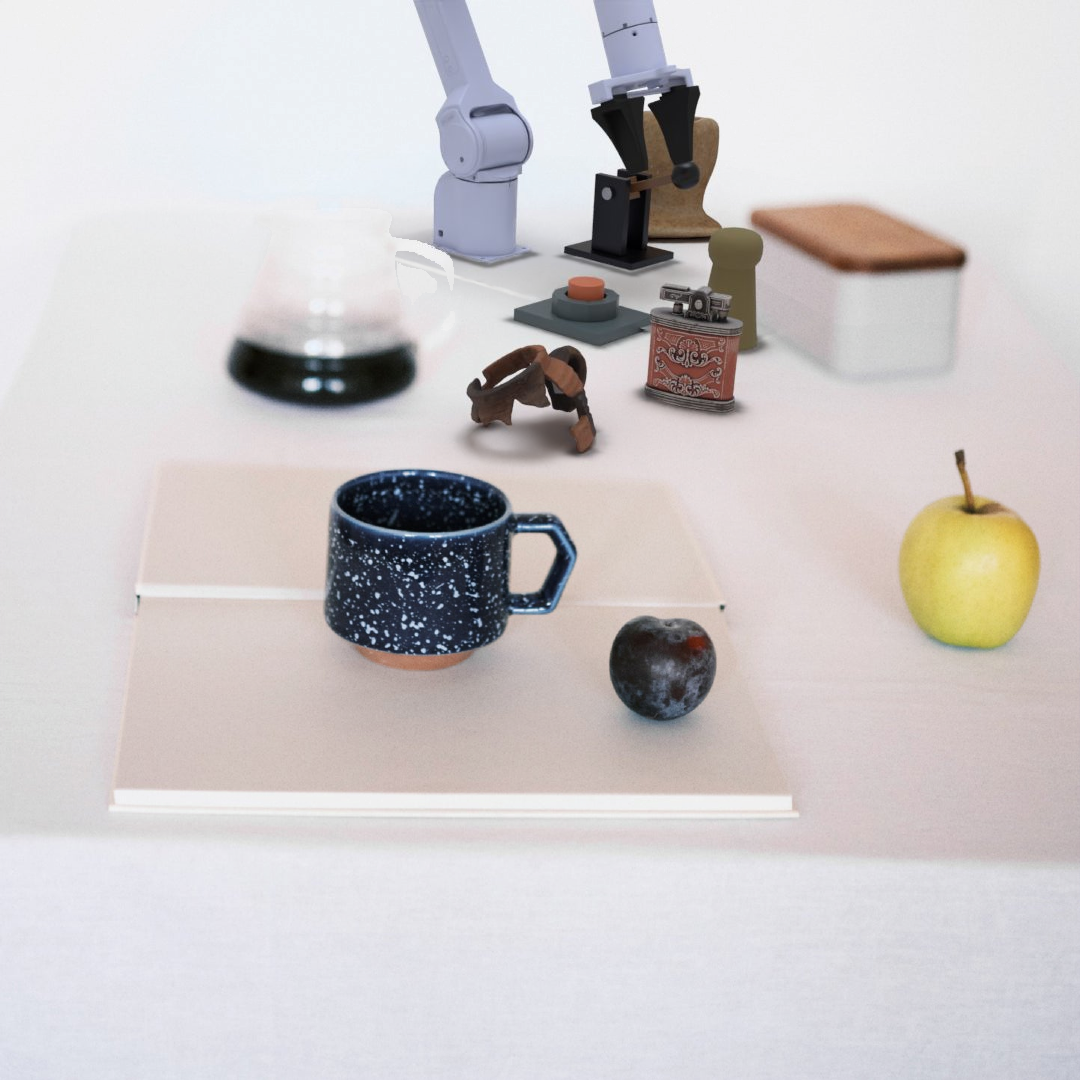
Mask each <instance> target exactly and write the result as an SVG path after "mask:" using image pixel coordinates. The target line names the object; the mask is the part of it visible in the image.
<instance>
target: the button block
mask: <svg viewBox="0 0 1080 1080" xmlns="http://www.w3.org/2000/svg"><path fill="white" fill-rule="evenodd" d="M513 321H516V322H518V323H522V324H526V325H529V326H532V327H535V328H538V329H542V330H546V331H548V332H552V333H554V334H558V335H561V336H565V337H568V338H570V339H574V340H578V341H580V342H584V343H587V344H591V345H593V346H597V347H600V346H603V345H606V344H609V343H612V342H615V341H618V340H621V339H624V338H625V337H629V336H632V335H635V334H638V333H641V332H644V331H646V329H644V327H648V326H650V325H651V326H652V322H651V321H650V313H648V312H644V311H641V310H637V309H634V308H631V307H626V306H623V305H620V294H619V293H617V292H616V291H615V290H613V289H610V288H606V287H605V288H604V299H601V300H595V301H584V300H575V299H572V298H568V285H566V286H562V287H559V288H558V287H557V288H555V289H554V291H553V292H552V293H551V297H549V298H546V299H542V300H539V301H536V302H533V303H529V304H525V305H522V306H518V307H515V308H514V309H513Z"/></svg>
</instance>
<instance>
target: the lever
mask: <svg viewBox="0 0 1080 1080" xmlns="http://www.w3.org/2000/svg"><path fill="white" fill-rule="evenodd" d="M627 179H631V186H630V199H635V198H639V197H640V193H639V191H641V190H645V189H650V188H654V187H658V186H663V185H667V184H671V183H673V184H674V185H675V186H676V187H677V188H678V189H681V190H690V189H692V188H694V187H695V186H696V185H697V184H698V182H699V180H700V169H699V167H698V166H697V165H696V164H695V163H694V162H692V161H690V162H687V163H683V164H680V165H676V166H674V167H673V169H672V172H671V174H669V175H664V176H660V177H656V178H652V179H648V180H644V181H639V182H637V178H636V176H633V177H629V178H627Z"/></svg>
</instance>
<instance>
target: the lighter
mask: <svg viewBox="0 0 1080 1080" xmlns="http://www.w3.org/2000/svg"><path fill="white" fill-rule="evenodd" d="M690 287H691V286H689V285H688V286H687V285H682V284H675V283H668V282H665V283H663V284H662V285H661V286H660V287H659V300H660V301H661V300H662V301H666V302H673V304H672V305H673V307H667V306H657V307H654V308H652V309H651V310H650V313H649V314H650V321H651V322H652V324H651V328H650V340H649V351H648V362H647V363H648V364H647V378H646V381H645V383H644V390H643V394H644V396H645V397H646V398H649V399H652V400H656V401H659V402H662V403H666V404H671V405H676V406H679V407H685V408H689V409H690V408H691V409H695V410H703V411H709V412H718V413H724V412H730V411H733V410H734V408H735V400H736V397H735V395H734V390H735V381H736V372H737V363H738V356H739V355H738V354H739V351H738V346H739V336H740V334H741V333H742V329H743V322H742V321H740V320H737V319H734V318H729V317H727V316H728V313H729V309H730V307H731V298H732V297H731V296H729V295H724V294H718V293H714V292H713V290H712V289H711V288H710V287H708V285H702V286H700V287H699V288H698V289H692V288H690ZM684 304H685V305H688V306H687V308H686V309H685V308H684ZM716 309H718V315H717V310H716Z"/></svg>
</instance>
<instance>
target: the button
mask: <svg viewBox="0 0 1080 1080" xmlns="http://www.w3.org/2000/svg"><path fill="white" fill-rule="evenodd" d="M567 286H568V298H572V299H575V300H584V301H595V300H601V299H604V288H606V282H605V281H604V279H602V278H599V277H594V276H585V275H584V276H583V275H582V276H574V277H571V278H569V279H568V281H567Z"/></svg>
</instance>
